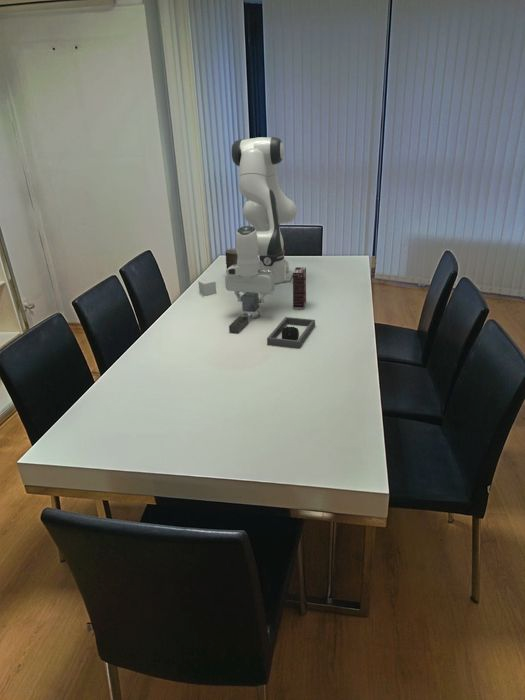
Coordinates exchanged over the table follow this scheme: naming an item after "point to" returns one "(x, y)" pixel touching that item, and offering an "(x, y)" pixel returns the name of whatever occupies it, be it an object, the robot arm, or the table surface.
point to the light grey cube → (207, 287)
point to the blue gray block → (250, 301)
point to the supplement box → (299, 288)
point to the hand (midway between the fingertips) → (250, 302)
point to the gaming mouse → (290, 333)
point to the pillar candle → (231, 257)
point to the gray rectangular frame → (285, 342)
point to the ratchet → (243, 321)
